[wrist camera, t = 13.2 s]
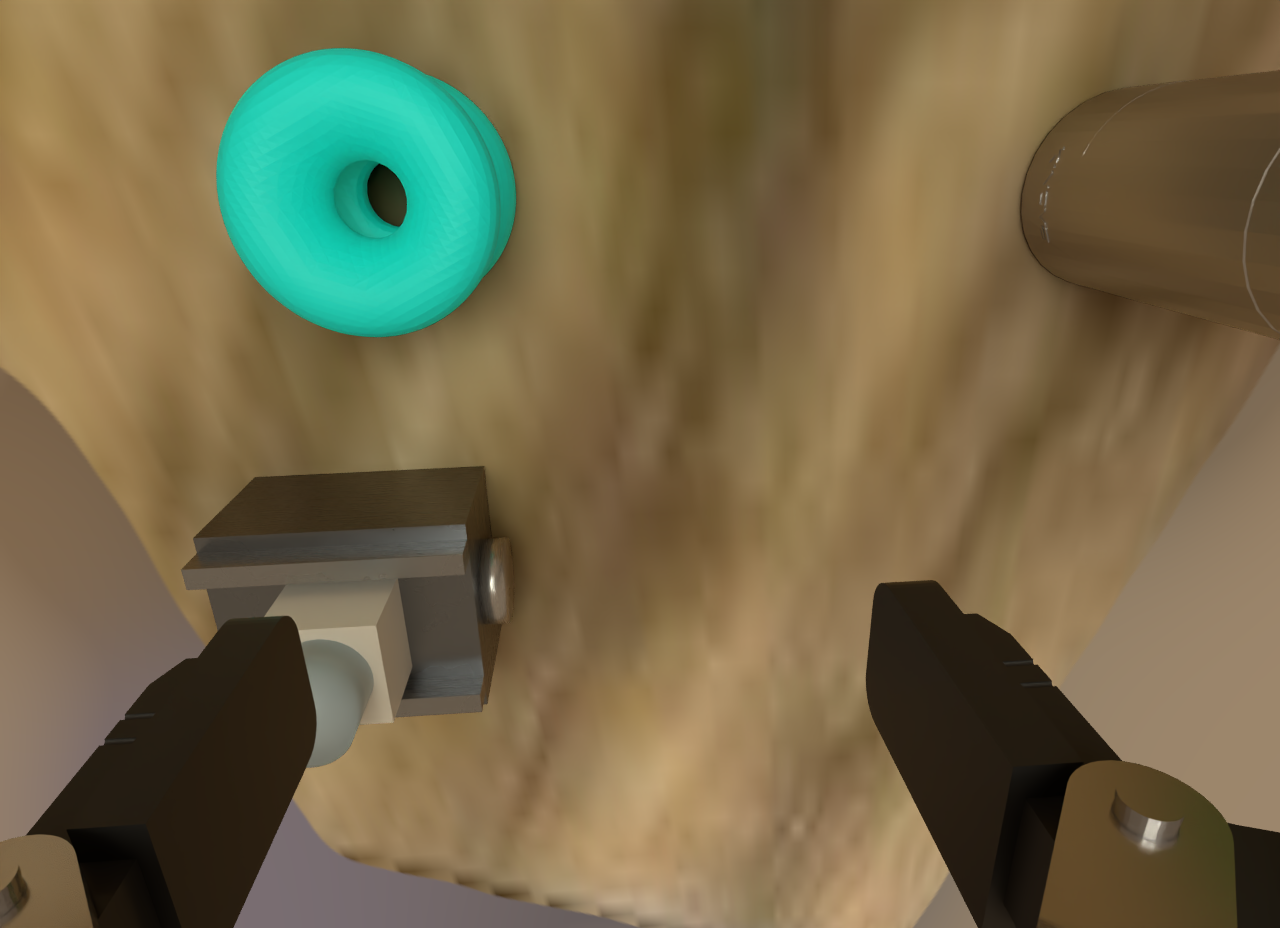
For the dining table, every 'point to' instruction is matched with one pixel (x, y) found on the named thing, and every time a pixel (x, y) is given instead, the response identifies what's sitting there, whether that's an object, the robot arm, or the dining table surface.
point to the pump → (349, 655)
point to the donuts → (363, 191)
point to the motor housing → (375, 564)
